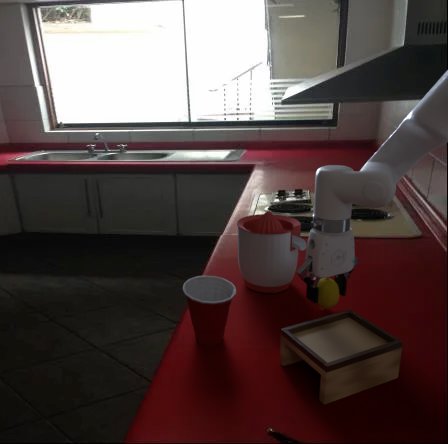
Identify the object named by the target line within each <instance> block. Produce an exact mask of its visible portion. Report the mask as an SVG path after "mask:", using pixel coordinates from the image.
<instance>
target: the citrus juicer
mask: <svg viewBox="0 0 448 444" xmlns="http://www.w3.org/2000/svg"><path fill="white" fill-rule="evenodd" d="M236 226H237V263H238V267H239V271H240V277H241V278H242V281H243V282H244V285H245V286H246V287H247V288H249V290H252V291H254V292H259V293H266V294H268V293H269V294H277V293H280V292H283V291H285V290H288V289H289V288H290V286H291V284H292V283H293V280H294V276H295V274H296V272H297V267H298V262H299V261H298V260H299V251H306V248H307V241H306V240H305V239H304V238H302V237H301V233H302V232H301V229H302V224H301V222H300V221H299V220H298V219H296V218H294V217H291V216H288V215H282V214H276V213H275V214H274V213H273V212H272V211H269V210H268V211H266V212H265V213H262V214H259V213H257V214H251V215H247V216H243V217H241V218H239V219H238V220H237V222H236Z"/></svg>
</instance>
